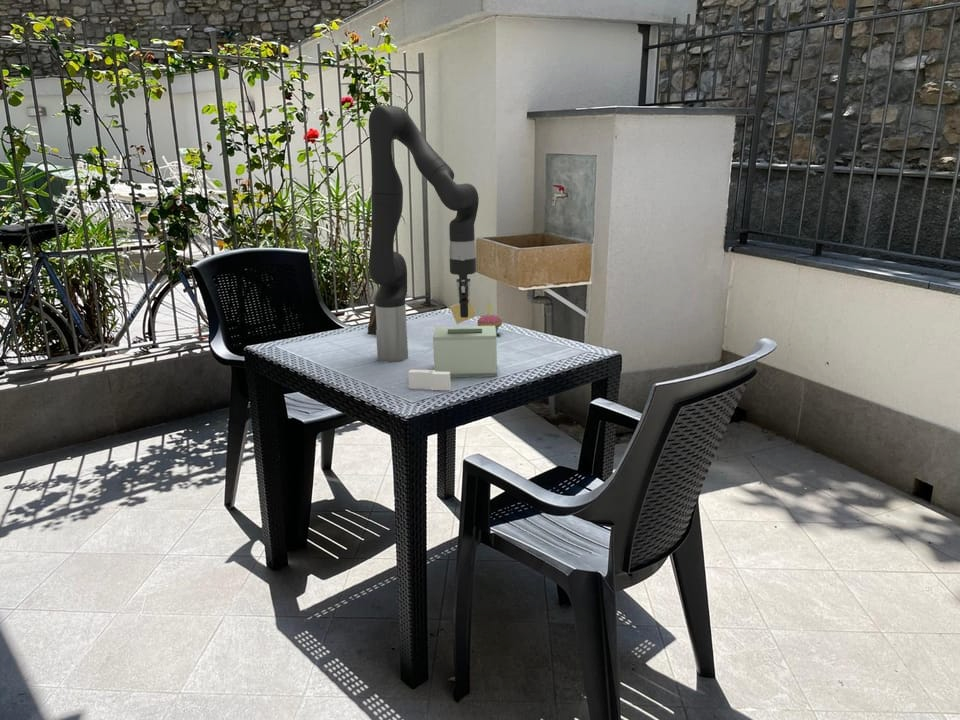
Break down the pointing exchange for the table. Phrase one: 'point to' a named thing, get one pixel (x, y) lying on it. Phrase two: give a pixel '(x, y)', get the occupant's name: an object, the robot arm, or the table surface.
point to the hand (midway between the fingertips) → (464, 315)
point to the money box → (465, 350)
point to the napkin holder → (429, 379)
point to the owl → (373, 319)
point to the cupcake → (490, 320)
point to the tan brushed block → (456, 312)
